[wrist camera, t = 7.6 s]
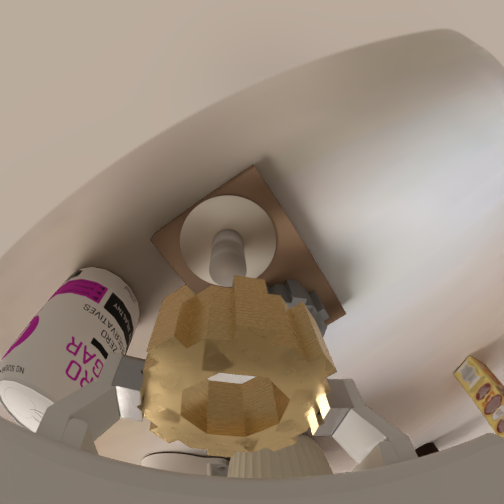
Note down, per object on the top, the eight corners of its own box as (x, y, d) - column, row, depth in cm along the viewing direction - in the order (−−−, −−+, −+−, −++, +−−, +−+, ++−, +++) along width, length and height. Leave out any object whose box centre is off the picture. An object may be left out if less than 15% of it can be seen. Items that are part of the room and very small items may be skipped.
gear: (333, 320, 28) (349, 351, 23) (268, 357, 29) (274, 391, 24) (297, 263, 25) (311, 291, 21) (225, 307, 26) (224, 340, 22)
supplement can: (57, 302, 27) (-14, 404, 13) (87, 246, 25) (-6, 350, 11) (118, 347, 29) (75, 463, 15) (156, 299, 27) (112, 432, 13)
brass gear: (343, 362, 13) (365, 410, 10) (215, 422, 14) (216, 469, 11) (258, 237, 10) (269, 279, 7) (111, 333, 11) (88, 383, 9)
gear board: (341, 305, 29) (365, 346, 23) (256, 353, 30) (262, 400, 24) (253, 164, 23) (261, 176, 17) (154, 233, 25) (132, 266, 19)
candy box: (451, 374, 36) (499, 442, 22) (469, 353, 35) (521, 420, 21) (471, 381, 38) (513, 440, 24) (487, 363, 37) (532, 420, 23)
